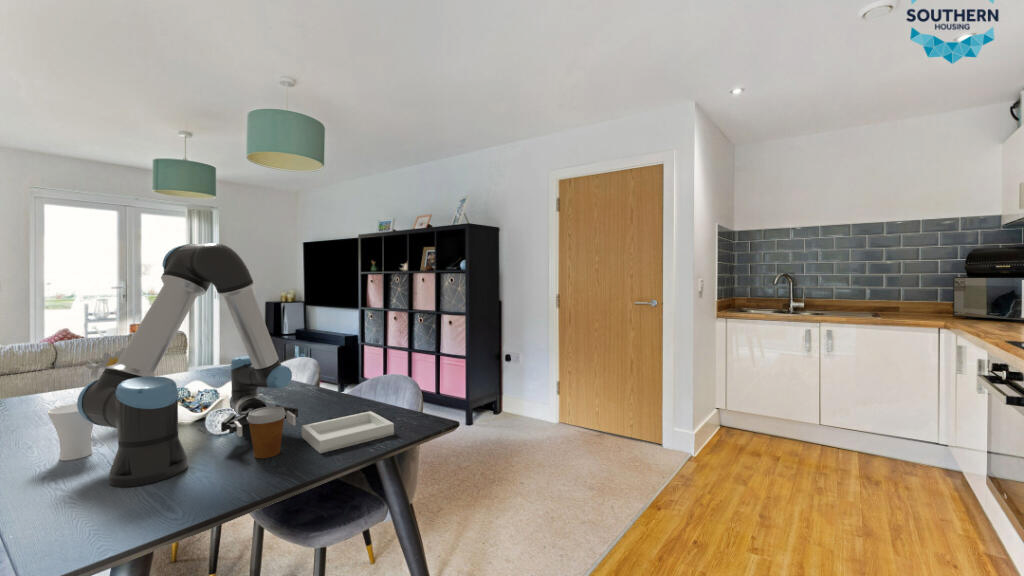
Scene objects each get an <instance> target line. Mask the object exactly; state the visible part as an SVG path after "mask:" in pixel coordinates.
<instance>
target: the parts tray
mask: <svg viewBox="0 0 1024 576" xmlns="http://www.w3.org/2000/svg"><path fill="white" fill-rule="evenodd" d="M394 435H395V423H394V422H392V421H390V420H388V419H387V418H384V417H382V416H381V415H379V414H377V413H375V412H373V411H366V412H360V413H356V414H350V415H346V416H341V417H337V418H333V419H326V420H322V421H319V422H318V421H317V422H314V423H309V424H303V425H301V438H302V439H303V440H305V441H306V442H307V443H308V444H309V445H310V446H311V447H312V448H313V449H314V450H316V452H318V453H319V454H323V453H327V452H328V453H329V452H331V451H335V450H340V449H343V448H347V447H351V446H355V445H358V444H364V443H366V442H370V441H374V440H378V439H382V438H385V437H389V436H394Z"/></svg>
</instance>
